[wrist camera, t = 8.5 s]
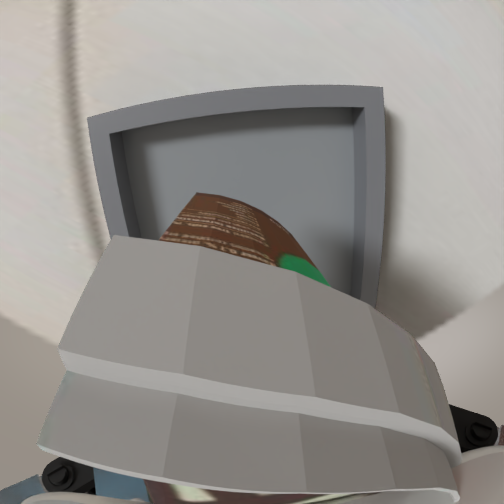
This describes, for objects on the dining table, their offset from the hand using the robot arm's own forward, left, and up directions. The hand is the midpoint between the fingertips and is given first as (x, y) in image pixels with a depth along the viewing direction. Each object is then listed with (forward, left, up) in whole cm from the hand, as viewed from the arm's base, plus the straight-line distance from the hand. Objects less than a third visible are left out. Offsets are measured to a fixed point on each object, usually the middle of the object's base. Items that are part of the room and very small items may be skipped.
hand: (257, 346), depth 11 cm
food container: (-1, 0, -2) cm, 3 cm away
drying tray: (0, 0, -11) cm, 11 cm away
